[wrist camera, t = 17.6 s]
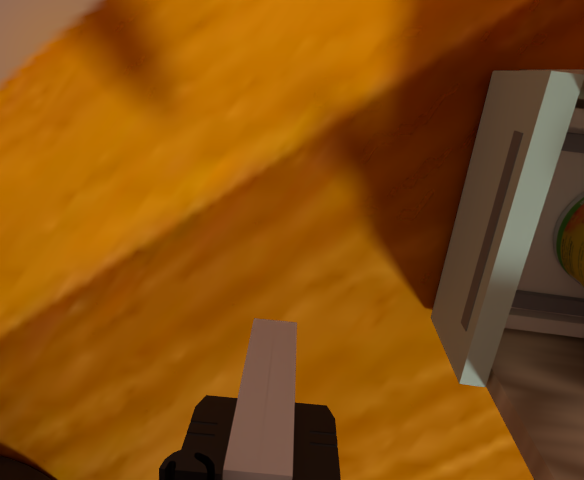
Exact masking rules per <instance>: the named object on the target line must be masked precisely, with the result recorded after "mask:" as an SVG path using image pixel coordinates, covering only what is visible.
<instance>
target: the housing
mask: <svg viewBox="0 0 584 480" xmlns="http://www.w3.org/2000/svg"><path fill="white" fill-rule="evenodd" d="M520 71H558V72H566V73H575V74H583V75H584V70H520ZM575 108H583V109H584V80H583V84H582V87H581V90H580V93H579V96H578V99H577V102H576V105H575ZM486 387H487V389H488V391H489V393H490V395H491V397H492V399H493V400H494V402H495V404H496V406H497V408H498V410H499V412H500V414H501V416H502V418H503V420H504V422H505V424H506V426H507V428H508V430H509V432H510V433H511V435H512V437H513V439H514V441H515V443H516V445H517V447H518V449H519V451H520V453H521V455H522V457H523V459H524V461H525V463H526V464H527V466H528V468H529V470H530V472H531V474H532V476H533V478H534V480H584V338H579V337H571V336H564V335H556V334H548V333H541V332H533V331H525V330H518V329H510V328H504V331H503V334H502V337H501V340H500V343H499V346H498V349H497V353H496V356H495V359H494V362H493V365H492V368H491V371H490V374H489V378H488V381H487V384H486Z"/></svg>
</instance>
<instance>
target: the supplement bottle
mask: <svg viewBox="0 0 584 480" xmlns="http://www.w3.org/2000/svg"><path fill="white" fill-rule="evenodd" d="M553 249H554V254H555V256H556V259H557V261H558V263H559V264H560V266H561V267H562V268H563V269H564V271H565V272H566V273H567V274H568V275H570V276H571V277H572V278H573V279H574V280H575V281H576V282H577V283H579V284H580V285H581V286H582V287H583V288H584V193H582V194H581V195H579V196H578V197H577V198H575V199H574V200H573V201H572V202H571V203H570V204H569V205H568V206H567V207H566V208H565V210H564V211H563V213H562V214H561V216H560V217H559V219H558V221H557V224H556V226H555V230H554V235H553Z"/></svg>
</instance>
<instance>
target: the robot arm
mask: <svg viewBox="0 0 584 480" xmlns="http://www.w3.org/2000/svg"><path fill="white" fill-rule="evenodd" d="M296 334H297V323H296V322H286V321H276V320H266V319H255V318H254V322H253V327H252V331H251V336H250V341H249V346H248V351H247V356H246V361H245V365H244V370H243V375H242V380H241V385H240V390H239V395H238V398H229V397H218V396H208V395H206V396H205V397H204V398H203V399H202V400H201V401H200V402H199V403H198V405H197V406H196V407H195V409H194V412H193V415H192V418H191V423H190V425H189V428H188V431H187V435H186V437H185V440H184V443H183V446H182V449H181V450H179V451H177V452H174V453H173V454H171V455H170V456H169V457H167V458H166V459H165V460H164V462H163V463H162V465H161V466H160V468H159V480H341V479H340V468H339V457H338V448H337V436H336V424H335V418H334V416H333V415H332V413H331V412H330V410H329V408H328V407H327V406H325V405H315V404H304V403H295V371H296ZM0 480H52V479H50V478H49V477H47V476H46V475H44V474H42V473H41V472H39V471H37V470H35V469H33V468H31V467H29V466H27V465H25V464H22V463H20V462H17V461H14V460H11V459H8V458H5V457H1V456H0Z"/></svg>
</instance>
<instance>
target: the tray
mask: <svg viewBox="0 0 584 480" xmlns="http://www.w3.org/2000/svg"><path fill="white" fill-rule="evenodd" d="M583 80H584V75H583V74H575V73H566V72H558V71H493V72H492V76H491V80H490V84H489V88H488V92H487V96H486V100H485V104H484V108H483V112H482V116H481V120H480V124H479V128H478V132H477V136H476V140H475V144H474V148H473V152H472V156H471V160H470V164H469V168H468V172H467V176H466V180H465V184H464V187H463V191H462V195H461V199H460V203H459V207H458V211H457V215H456V219H455V223H454V227H453V231H452V235H451V239H450V243H449V247H448V251H447V255H446V259H445V263H444V267H443V271H442V275H441V279H440V283H439V287H438V291H437V295H436V299H435V303H434V307H433V311H432V315H431V319H432V322H433V324H434V326H435V329H436V331H437V333H438V336H439V338H440V340H441V343H442V345H443V347H444V349H445V352H446V354H447V356H448V359H449V361H450V363H451V366H452V368H453V370H454V372H455V375H456V377H457V379H458V382H459V384H466V385H473V386H481V387H486V384H487V381H488V378H489V374H490V371H491V368H492V365H493V362H494V359H495V356H496V353H497V349H498V346H499V343H500V340H501V337H502V334H503V331H504V328H510V329H518V330H525V331H533V332H541V333H548V334H556V335H564V336H571V337H579V338H584V288H583V287H582V286H581V285H580V284H579V283H577V282H576V281H575V280H574V279H573V278H572V277H571V276H570V275H568V274H567V273H566V272H565V271H564V269H563V268H562V267H561V266H560V264H559V263H558V261H557V259H556V256H555V254H554V249H553V235H554V230H555V226H556V224H557V221H558V219H559V217H560V216H561V214H562V213H563V211H564V210H565V208H566V207H567V206H568V205H569V204H570V203H571V202H572V201H573V200H574V199H575V198H577V197H578V196H579V195H581V194H582V193H584V109H583V108H575V105H576V102H577V99H578V96H579V93H580V90H581V87H582V84H583Z"/></svg>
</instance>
